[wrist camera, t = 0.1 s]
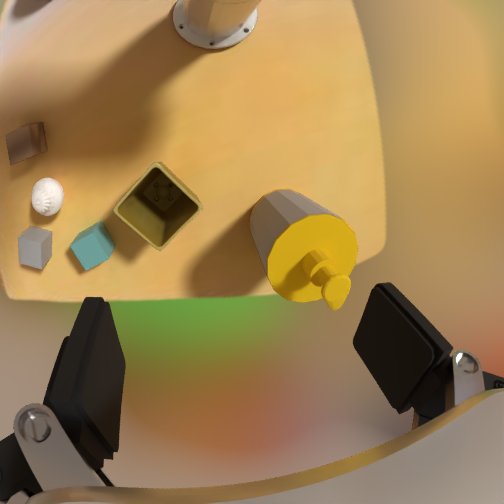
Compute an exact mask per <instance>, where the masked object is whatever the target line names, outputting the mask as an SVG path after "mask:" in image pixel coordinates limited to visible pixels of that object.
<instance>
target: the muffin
mask: <svg viewBox="0 0 504 504" xmlns="http://www.w3.org/2000/svg"><path fill="white" fill-rule="evenodd" d="M31 198H32V201H31V203H32V204H33V205H32V207H34V210H36V211H37V212H39V213H40V214H42V215H44V216H51V215H53V214H55V213H56V212H58V211H59V209H60V208H61V206H62V203H63V199H64V191H63V188H62V186H61V184H60V183H59V182H58V181H57V180H54V179H52V178H48V177H47V178H43V179H41V180H39V181H38V182H37V183H36V184H35V185H34V187H33V189H32V194H31Z"/></svg>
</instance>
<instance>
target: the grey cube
mask: <svg viewBox="0 0 504 504" xmlns="http://www.w3.org/2000/svg"><path fill="white" fill-rule="evenodd" d="M18 241H19V261H20V263H21V264H25V265H28V266H31V267H35V268H38V269H42V268H43V267H44V266H45V264H46V263H47V262H48V260H49V259H50V258H51V256H52V231H49V230H45V229H41V228H37V227H34V226H30V227H29V228H28V229H27V230H26V231H24V232H23V233H22V234H21V235H20V236H19V237H18Z"/></svg>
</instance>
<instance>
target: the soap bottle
mask: <svg viewBox="0 0 504 504" xmlns="http://www.w3.org/2000/svg"><path fill="white" fill-rule="evenodd" d="M249 219H250V232H251V234H252V237H253V240H254V242H255V245H256V248H257V250H258V253H259V256H260V259H261V261H262V264H263V267H264V269H265V272H266V275H267V277H268V279H269V281H270V283H271V285H272V287H273V289H274V291H275V292H277V293H278V294H280V295H281V296H282V297H284V298H285V299H287V300H292V301H297V302H308V301H314V300H319V299H321V298H323V299H324V300H325V301H326V303H327V304H328V306H329V307H330V309H331V310H332V311H334V310H337V309H339V308H340V307H341V306H342V304H343V302H344V301H345V299H346V297H347V295H348V293H349V291H350V287H351V282H350V279H349V278H348V276H349V275H350V273H351V271H352V269H353V268H354V266H355V263H356V258H357V252H358V245H357V241H356V236H355V233H354V231H353V230H352V229H351V228H350V227H349V225H348V224H347V223H346V222H345V221H344V220H343V219H342V218H340V217H338V216H337V215H335V214H334V213H332V212H330V211H329V210H327V209H325V208H324V207H322V206H321V205H319V204H317V203H316V202H314V201H312V200H310V199H309V198H307V197H305V196H304V195H302V194H300V193H298V192H295V191H293V190H290V189H279V190H274V191H272V192H270V193H268V194H266V195H264V196H263V197H262V198H261V199H260V200H259V201H258V202H257V203H256V204H255V205H254V207H253V210H252V212H251V215H250V217H249Z"/></svg>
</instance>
